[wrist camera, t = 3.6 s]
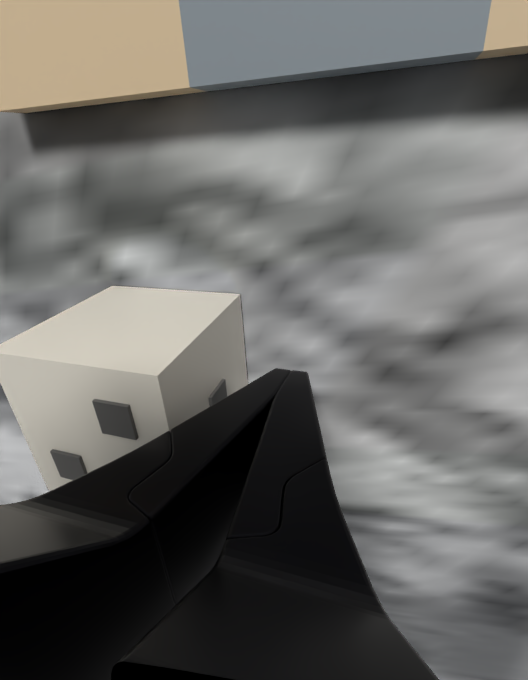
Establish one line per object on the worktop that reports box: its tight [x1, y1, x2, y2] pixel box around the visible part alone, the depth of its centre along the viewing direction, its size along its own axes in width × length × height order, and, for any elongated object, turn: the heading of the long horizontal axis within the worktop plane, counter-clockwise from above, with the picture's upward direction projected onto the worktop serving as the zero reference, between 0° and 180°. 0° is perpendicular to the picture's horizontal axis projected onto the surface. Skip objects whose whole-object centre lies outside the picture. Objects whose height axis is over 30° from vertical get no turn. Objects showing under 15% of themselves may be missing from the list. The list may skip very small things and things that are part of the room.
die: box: [0, 286, 248, 491], centre depth 10 cm, size 4×4×4 cm
